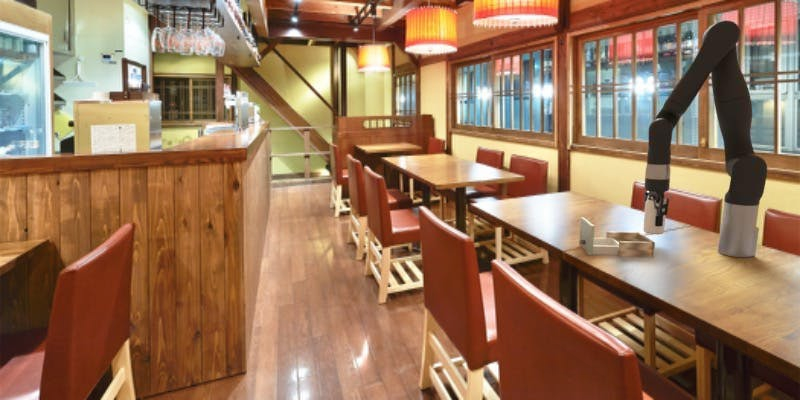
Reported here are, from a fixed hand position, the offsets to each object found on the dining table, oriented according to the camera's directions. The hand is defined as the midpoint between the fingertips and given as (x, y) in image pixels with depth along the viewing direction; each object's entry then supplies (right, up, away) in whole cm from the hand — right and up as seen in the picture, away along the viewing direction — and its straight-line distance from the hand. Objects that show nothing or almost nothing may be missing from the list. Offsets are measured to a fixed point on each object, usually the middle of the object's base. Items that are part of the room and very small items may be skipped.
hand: (654, 223), depth 161 cm
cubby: (-12, -9, -4) cm, 16 cm away
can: (0, -3, +1) cm, 3 cm away
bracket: (-21, -9, -3) cm, 23 cm away
